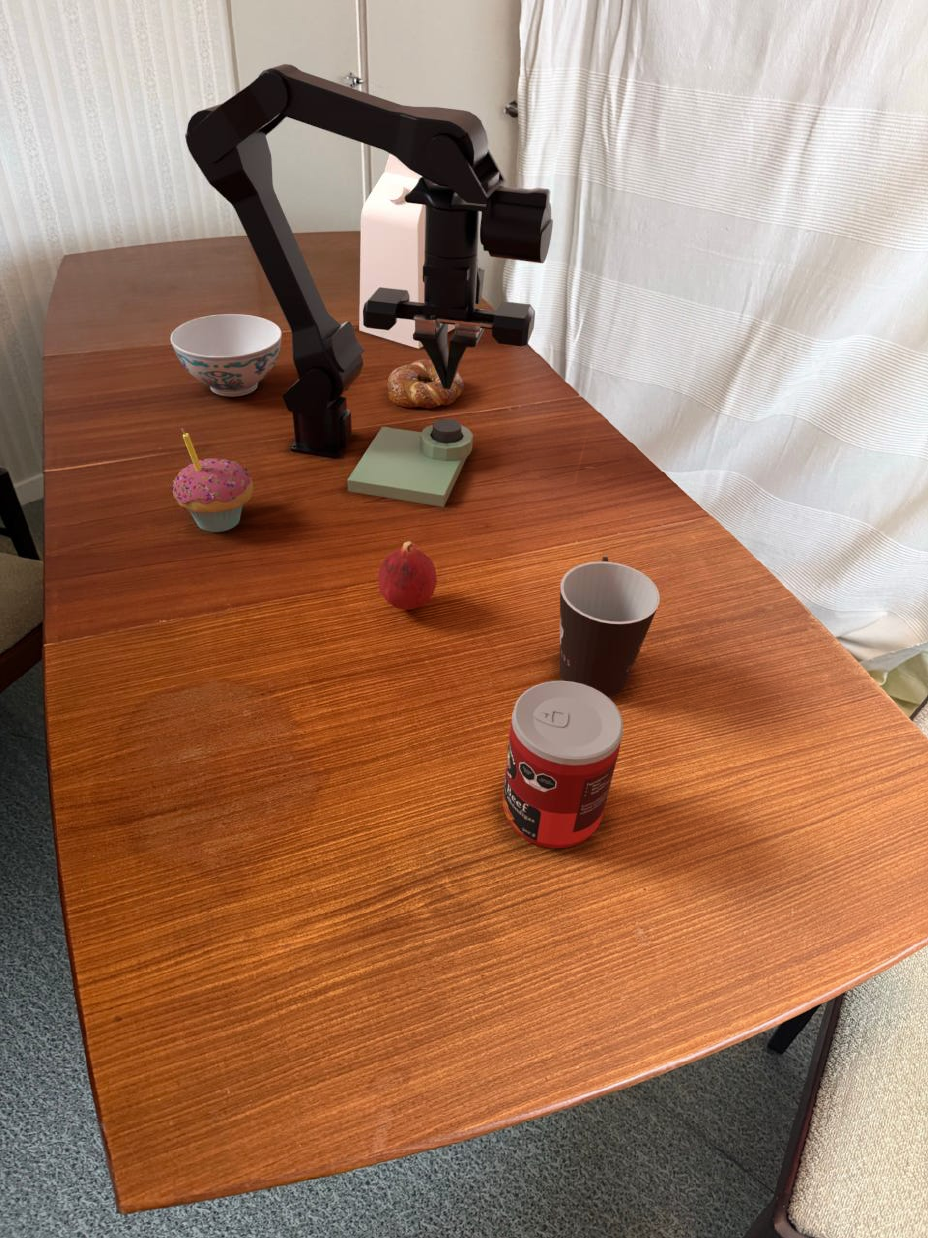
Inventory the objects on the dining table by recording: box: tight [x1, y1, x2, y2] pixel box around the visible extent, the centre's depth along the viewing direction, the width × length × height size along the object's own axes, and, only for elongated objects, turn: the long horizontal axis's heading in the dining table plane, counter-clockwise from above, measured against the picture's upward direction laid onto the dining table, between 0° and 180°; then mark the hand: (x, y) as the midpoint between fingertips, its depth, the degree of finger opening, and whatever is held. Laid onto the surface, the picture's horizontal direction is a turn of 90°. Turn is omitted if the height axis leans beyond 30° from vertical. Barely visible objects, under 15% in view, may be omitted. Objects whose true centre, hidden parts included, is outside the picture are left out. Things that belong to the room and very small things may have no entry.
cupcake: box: [171, 427, 255, 533], centre depth 91 cm, size 9×8×12 cm
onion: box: [377, 540, 438, 611], centre depth 82 cm, size 6×6×8 cm
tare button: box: [432, 418, 462, 444], centre depth 105 cm, size 4×4×2 cm
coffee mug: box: [559, 556, 661, 698], centre depth 76 cm, size 12×9×10 cm
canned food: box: [502, 680, 624, 849], centre depth 63 cm, size 8×8×11 cm
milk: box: [358, 153, 456, 349], centre depth 131 cm, size 12×12×26 cm
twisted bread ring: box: [387, 358, 465, 410], centre depth 120 cm, size 12×11×4 cm
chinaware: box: [170, 313, 283, 397], centre depth 118 cm, size 15×15×8 cm
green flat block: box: [347, 424, 474, 508], centre depth 104 cm, size 13×14×4 cm
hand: (447, 387), depth 99 cm, fingers closed
